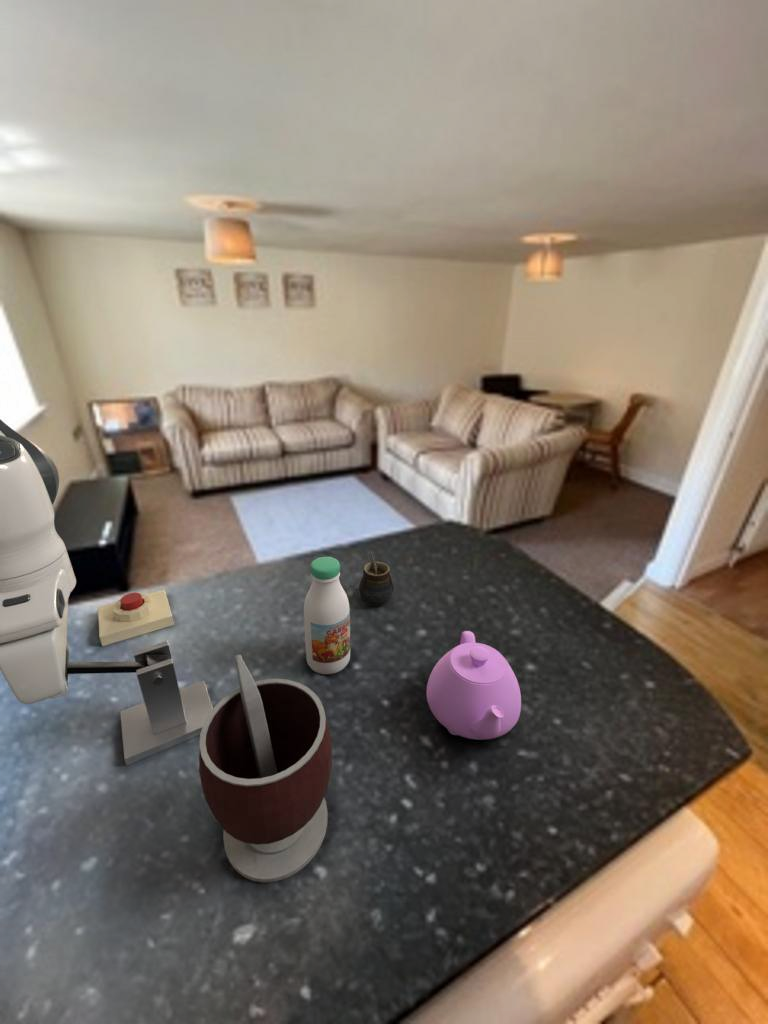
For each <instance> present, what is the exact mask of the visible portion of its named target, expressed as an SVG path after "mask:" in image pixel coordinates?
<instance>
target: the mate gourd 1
mask: <svg viewBox="0 0 768 1024" xmlns="http://www.w3.org/2000/svg"><path fill="white" fill-rule="evenodd" d="M234 661H235V663H236V669H237V677H238V685H239V686H238V688H236V689H234V690H233V691H231V692H229V694H227V695H225V696H224V697H223V698H222V699H221V700H220V701H219V702H218V703H216V705H214V707H213V710H212V711H211V712H210V713H209V715H208V717H207V719H206V720H205V722H204V724H203V727H202V731H201V734H200V735H199V744H198V746H199V755H198V758H199V759H198V766H199V767H198V769H199V770H198V772H199V778H200V779H199V780H200V784H201V788H202V792H203V797H204V799H205V802H206V804H207V807H208V809H209V810H210V812H211V814H212V816H213V818H214V820H215V821H216V822H217V823H218V824H219V826H220V827H221V828H222V829H223V836H222V839H223V846H224V851H225V855H226V857H227V859H228V862H229V864H230V865H231V866H232V868H233V869H234V871H235V872H237V873H238V874H239V875H241V876H242V877H243V878H246V879H248V880H251V881H253V882H259V883H275V882H278V881H282V880H286V879H288V878H290V877H292V876H293V875H295V874H297V873H299V872H300V871H301V870H302V869H304V868H305V867H306V866H307V865H308V864H310V862H311V861H312V860H313V858H314V857H315V856H316V854H317V853H318V851H319V850H320V848H321V846H322V844H323V842H324V839H325V836H326V832H327V828H328V806H327V800H326V799H325V795H326V793H327V790H328V787H329V781H330V778H331V772H332V767H333V744H332V742H333V741H332V740H333V739H332V735H331V731H330V726H329V722H328V718H327V716H326V712H325V708H324V706H323V703H322V701H321V699H320V698H319V697H318V695H317V694H316V693H315V692H314V691H313V690H312V689H310V688H309V687H308V686H306V685H304V684H302V683H300V682H298V681H295V680H292V679H287V678H286V679H285V678H267V679H261V680H256V681H255V680H254V678H253V675H252V674H251V672H250V670H249V669H248V666H247V664H246V663H245V661H244V660H243V656H242V654H237V655H235V656H234Z"/></svg>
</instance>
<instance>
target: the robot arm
mask: <svg viewBox="0 0 768 1024" xmlns="http://www.w3.org/2000/svg"><path fill="white" fill-rule="evenodd" d="M59 488H60V475H59V470H58V467H57V466H56V464H55V462H54V461H53V459H52V457H50V455H48V454H47V452H45V451H44V450H43V449H42V448H41V447H40V446H38V445H37V444H35V443H34V442H32V441H31V440H30V439H28V438H26V437H25V436H24V435H22V434H20V433H19V432H17V431H16V430H14V429H13V428H11V427H10V426H9V425H8V424H7V423H5V422H4V421H3V420H2V419H1V418H0V672H1V674H2V676H3V678H4V680H5V682H6V683H7V685H8V686H9V689H10V690H11V692H12V694H13V695H14V697H15V698H16V699H17V701H18V702H19V703H22V704H24V705H33V704H35V703H38V702H39V703H40V702H42V701H45V700H49V699H57V698H60V697H63V696H66V695H67V694H68V692H69V682H68V681H69V680H68V681H67V679H66V676H65V664H66V651H67V652H68V653H69V654H70V645H69V643H68V639H67V638H68V615H69V598H70V595H71V593H72V592H73V590H74V589H75V587H76V585H77V578H76V575H75V572H74V569H73V565H72V562H71V559H70V557H69V553H68V550H67V546H66V544H65V542H64V540H63V539H62V538H61V536H60V535H59V534H58V531H57V530H56V526H55V516H56V515H55V509H54V507H53V505H54V504H55V501H56V499H57V495H58V493H59Z"/></svg>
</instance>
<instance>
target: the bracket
mask: <svg viewBox="0 0 768 1024" xmlns="http://www.w3.org/2000/svg"><path fill="white" fill-rule="evenodd" d="M132 653H133V659H134V662H144V659H145V656H146V655H167V656H168V660H165V661H162V662H159V663H156V664H153V665H150V666H147V667H144V668H141V669H138V670H136V678H137V682H138V685H139V688H140V691H141V696H142V699H143V702H141V703H139V704H136V705H133V706H131V707H127V708H125V709H123V710H120V711H119V715H120V716H119V717H120V726H121V736H122V746H123V747H122V748H123V756H124V757H123V758H124V763H125V765H126V766H129V765H132V764H134V763H136V762H139V761H141V760H143V759H146V758H148V757H150V756H153V755H156V754H158V753H160V752H162V751H165V750H168V749H169V748H172V747H174V746H177V745H180V744H181V743H184V742H186V741H189V740H191V739H193V738H197V737H198V736H200V734H201V731H202V727H203V724H204V722H205V720H206V719H207V717H208V715H209V713H210V712H211V711H212V710H213V708H214V707H213V705H212V704H213V703H212V701H211V698H210V695H209V692H208V689H207V685H206V681H205V680H201V681H199V682H196V683H193V684H190V685H188V686H185V687H182V688H180V687H179V682H178V679H177V674H176V669H175V665H174V661H173V657H172V654H171V649H170V645H169V640H166V641H165V640H164V641H162V642H159V643H155V644H152V645H149V646H146V647H142V648H140V649H136V650H133V652H132Z"/></svg>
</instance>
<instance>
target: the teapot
mask: <svg viewBox="0 0 768 1024" xmlns="http://www.w3.org/2000/svg"><path fill="white" fill-rule="evenodd" d="M426 701H427V704H428V707H429V709H430V711H431V713H432V715H433V716H434V717H435V719H436V720H437V721H438V722H439V723H440V725H442V726H443V727H444V728H446V729H447V731H448V732H449V734H451V735H453V736H460V737H462V738H466V739H468V740H469V739H470V740H478V741H482V740H485V741H486V740H492V739H496V738H499V737H502V736H504V735H506V734H508V733H509V732H510V731H511V730H512V729H513V728H514V727H515V726H516V724H517V723H518V722H519V718H520V716H521V711H522V695H521V689H520V685H519V682H518V679H517V676H516V674H515V672H514V670H513V669H512V667H511V665H510V663H509V662H508V660H507V659H506V658H505V657H504V655H503V654H502V653H501V652H500V651H498V650H497V649H495V648H494V647H492V646H490V645H487V644H484V643H481V642H476V636H475V634H474V632H472V631H470V630H464V631H462V633H461V636H460V644H458V645H457V646H455V647H453V648H451V649H450V650H449V651H447V652H446V653H445V654H444V655H443V656H442V657H441V658H440V659H439V660H438V662H437V663H435V666H433V668H432V670H431V673H430V674H429V678H428V680H427V684H426Z"/></svg>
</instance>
